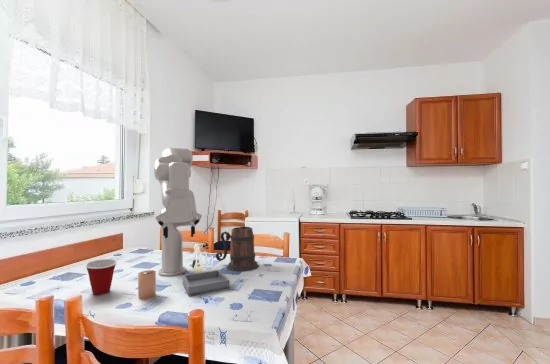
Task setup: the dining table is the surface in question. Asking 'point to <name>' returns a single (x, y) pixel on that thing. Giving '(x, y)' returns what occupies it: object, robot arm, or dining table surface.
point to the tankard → (240, 250)
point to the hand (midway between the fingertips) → (179, 237)
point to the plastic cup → (101, 275)
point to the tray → (205, 282)
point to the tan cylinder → (146, 284)
